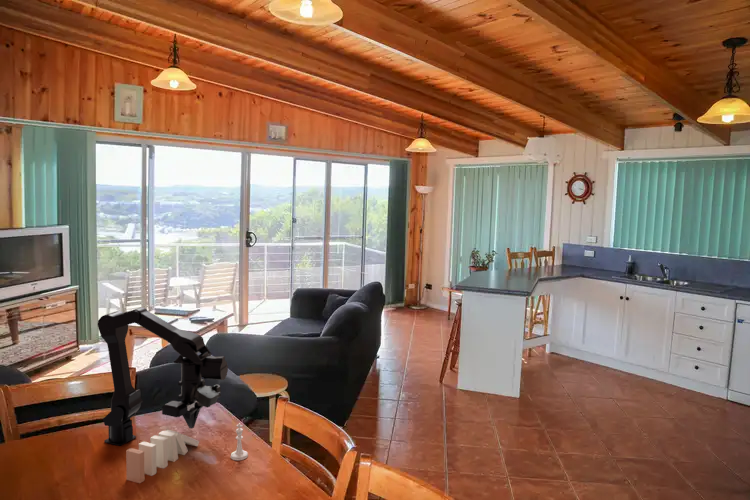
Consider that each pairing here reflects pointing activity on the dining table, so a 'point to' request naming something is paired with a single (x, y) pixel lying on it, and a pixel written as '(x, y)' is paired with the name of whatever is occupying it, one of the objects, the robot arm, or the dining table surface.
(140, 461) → the domino
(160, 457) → the domino
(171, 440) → the domino
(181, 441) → the domino
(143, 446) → the domino
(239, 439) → the chess piece
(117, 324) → the robot arm
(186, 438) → the domino
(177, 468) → the dining table surface
